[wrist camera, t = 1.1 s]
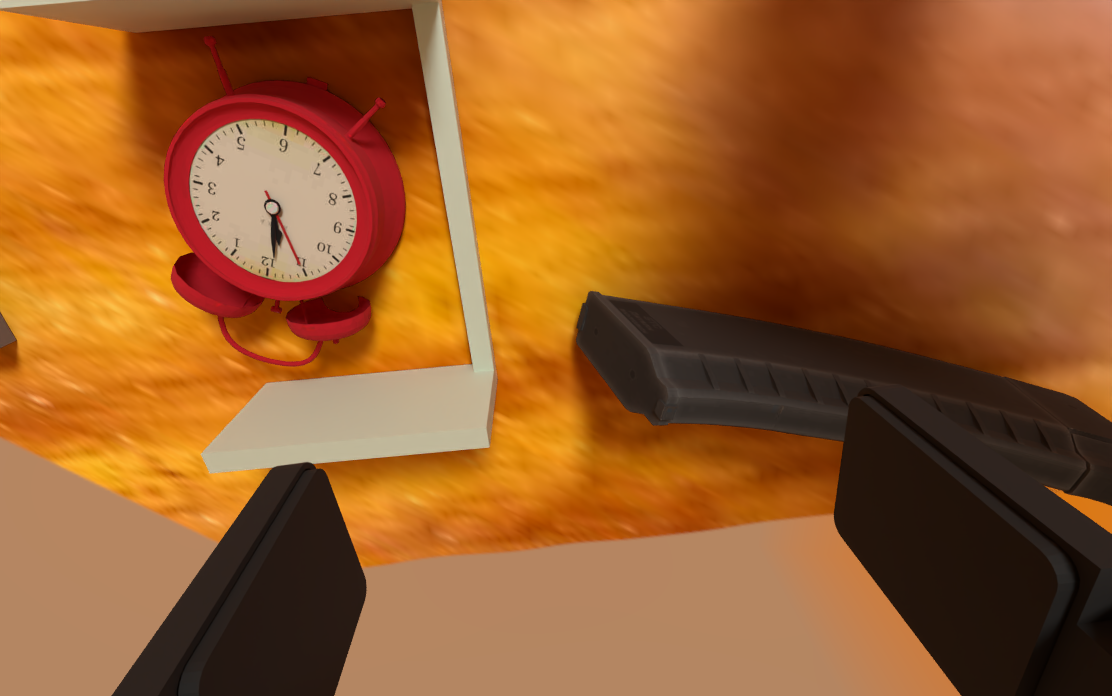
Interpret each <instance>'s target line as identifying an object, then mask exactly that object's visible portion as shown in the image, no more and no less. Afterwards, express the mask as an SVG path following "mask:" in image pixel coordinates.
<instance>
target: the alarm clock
mask: <svg viewBox="0 0 1112 696" xmlns="http://www.w3.org/2000/svg"><path fill="white" fill-rule="evenodd" d="M204 42H205V44H206V45H208V46H209V47H210V50H211V52H212V55H213V58H214V61H215V63H216V66H217V69H218V70H217V71H218V74H219V76H220V79H221V81H222V84H223V87H224V89H225V92H226V95H225V96H224V97H222V98H220V99H217V100H215V101H213V102H210V103H208V104H206V105H205V106H203V107H201V108H200V109H198V110H197V111H196V112H195V113H193V114H192V115H191V116H190V117H189V118H188V119H187V120H186V121H185V122H184V123H183V124H182V126H181V127H180V128H179V129H178V131H177V133H176V134H175V136H174V137H173V139H172V142H171V144H170V146H169V149H168V151H167V156H166V160H165V165H164V186H165V194H166V198H167V203H168V207H169V209H170V212H171V215H172V218H173V220H174V222H175V224H176V226H177V228H178V230H179V232H180V233H181V235H182V237H183V238H184V240H185V242H186V243H187V244H188V246H189V247H190V248H191V249H192V251H193V252H194V253H189V254H186V255H183V256H180V257H179V258H178V260H177V261H176V263H175V264H174V266H173V269H172V274H171V281H172V284H173V286H174V288H175V290H176V291H177V292H178V293H179V295H180V296H181V297H183V298H184V299H185V300H186V301H187V302H189V303H190V304H192V305H194V306H195V307H197V308H199V309H201V310H203V311H205V312H208V313H211V314H214V315H217V316H218V321H219V324H220V328H221V331H222V333H223V335H224V337H225V339H226V340H227V341H228V342H229V343H230V344H231V345H232V346H233V347H234V348H235V349H236V350H238V351H239V352H241V353H243V354H245V355H247V356H249V357H252V358H254V359H257V360H260V361H263V362H266V363H270V364H276V365H282V366H301V365H305V364H307V363H310V362H311V361H312V360H314V359H315V358H316V357H317V355H318V353H319V352H320V349H321V346H322V344H323V341H328V340H333V343H334V344H337V343H338V342H339V339H341V338H345V337H348V336H350V335H353V334H355V333H357V332H358V331H360V330H361V329H363V328H364V327H365V326H366V325H367V324H368V322H369V319H370V317H371V305H370V301H369V300H368V299H366V298H364V297H359V296H358V299H359V305H358V308H356V309H354V310H352V311H350V312H336V311H333V310H330V309H328V308H327V307H326V305H325V303H324V301H323V299H322V298H318V299H314V300H310V301H306V302H304V303H303V300H306V299H313V298H317V297H321V296H325V295H328V294H330V293H333V292H335V291H337V290H339V289H342V288H346V287H349V286H352V285H354V284H357V283H359V282H361V281H363V280H364V279H366V278H368V277H369V276H370V275H372V274H373V273H375V272H376V271H377V270H378V269H379V268H380V267H381V266H382V265H383V264H384V263H385V262H386V260H387V259H388V258H389V257H390V255H391V254H392V252H393V250H394V249H395V247H396V245H397V243H398V241H399V238H400V236H401V232H402V229H403V225H404V219H405V192H404V186H403V181H402V178H401V174H400V171H399V168H398V165H397V163H396V161H395V158H394V156H393V154H392V152H391V150H390V149H389V147H388V145H387V143H386V142H385V140H384V139H383V138H382V136H381V135H380V133H379V132H378V131H377V130H376V128H375V127H374V126H373V125H372V124H371V123H370V122H369V121H368V120H369V119H370V118H371V117H372V116H373V115H374V113H375V112H376V111H377V110H378V109H379V108H382V109H383V108H384V107H385V105H386V103H385V101H384V100H383V99H382V98H380V97H379V98H377V99H376V100H375V103H376V104H375V105H374V106H373V107H372V108H371V109H370V110H369V111H368V112H367V113H366V114H365V115H364V116H363V115H362V114H361V113H360V112H359V111H358V110H356V109H355V108H354V107H352V106H351V105H350V104H348V103H347V102H346V101H344V100H342V99H341V98H339V97H337V96H335V95H333V94H332V93H330V92H327V86H328V84H327V83H324V82H322V81H319V80H316V79H313V78H310V77H307V84H304V83H299V82H293V81H281V80H273V81H261V82H255V83H251V84H248V85H245V86H242V87H239V88H237V89H235V90H233V89H232V86H231V84H230V81H229V79H228V76H227V74H226V71H225V69H223V66H222V63H221V61H220V58H219V56H218V53H217V50H216V48H215V44H217V43H216V39H215V38H214V37H213V36H205V37H204ZM264 298H270V299H275V306H272V307H271V311H273V312H277V313H281V312H282V308H280V307H279V303H280V300H282V301H296V300H300V304H299V305H297V306H295V307H294V308H293V309H291V310H290V311H289V312H288V313H287V316H286V320H287V323H288V326H289V327H290V329H291V331H292V332H293V333H294V334H295V335H297V336H298V337H301V338H304V339H307V340H315V341H318V343H317V346H316V349H315V350H314V352H313V354H312V355H311V356H310V357H309V358H308V359H305V360H303V361H296V362H285V361H280V360H274V359H269V358H266V357H262V356H259V355H257V354H254V353H252V352H249V351H247V350H246V349H244V348H242V347H241V346H239V345H238V344H237V343H236V342H235V341H234V340H233V339H232V338H231V337H230V335H229V333H228V332H227V329H226V325H225V322H224V317H229V318H237V317H243V316H246V315H248V314H251V313H252V312H254V311H255V310H256V309H257V308H258V307H259V306H260V305H261V304H262V302H263V301H264Z"/></svg>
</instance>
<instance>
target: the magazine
mask: <svg viewBox="0 0 1112 696" xmlns="http://www.w3.org/2000/svg"><path fill="white" fill-rule="evenodd" d="M577 329H578V334H577V338H576V342H577V345H578V346H579V347H580V349H581V350H582V351H583V353H584V354H585V355H586V356H587V358H588V359H589V360H590V362H591V363H592V364H593V366H594V367H595V368H596V370H597V371H598V372H599V374H600V375H601V376H602V378H603V379H604V380H605V382H606V383H607V384H608V386H609V387H610V388H611V390H612V391H613V392H614V394H615V395H616V396H617V398H618V399H619V400H620V402H621V403H622V404H623V406H624V407H625V408H626V409H627V410H629V411H630V412H635V413H640V414H644V415H645V416H646V417H647V419H648V420H649V421H650V422H651V424H652V425H668V423H682V424H710V425H723V426H735V427H746V428H755V429H764V430H771V431H777V432H784V433H790V434H796V435H802V436H809V437H816V438H823V439H830V440H836V441H843V442H844V437H845V430H846V423H847V416H848V409H849V404H850V401H851V400H852V399H853V398H855V397H857V395H858V393H859V392H860V390H861V389H863V388H867V387H875V386H882V385H890V384H900V385H902V386H904V387H906V388H907V389H909V390H910V391H911V392H913V393H914V394H916V395H917V396H918V397H920V398H921V399H923V400H924V401H925V402H927V403H928V404H930V405H931V406H932V407H934V408H935V409H937V410H938V411H940V412H941V413H942V414H944V415H945V416H947V417H948V418H949V419H951V420H952V421H954V422H955V423H956V424H958V425H959V426H961V427H962V428H963V429H965V430H966V431H968V432H969V433H970V434H972V435H973V436H975V437H976V438H977V439H979V440H980V441H982V442H983V443H984V444H986V445H987V446H989V447H990V448H991V449H993V450H994V451H996V452H997V453H998V454H1000V455H1001V456H1003V457H1004V458H1006V459H1007V460H1008V461H1010V462H1011V463H1013V464H1014V465H1015V466H1017V467H1018V468H1020V469H1021V470H1022V471H1024V472H1025V473H1027V474H1028V475H1029V476H1031V477H1032V478H1034V479H1035V480H1036V481H1038V482H1039V483H1041V484H1042V485H1044V486H1048V487H1051V488H1055V489H1059V490H1062V491H1063V492H1064V493H1066V494H1070V495H1075V496H1080V497H1084V498H1088V499H1092V500H1096V501H1099V502H1103V503H1106V504H1108V505H1111V506H1112V422H1110V421H1109V420H1107V419H1106V418H1104V417H1103V416H1101V415H1100V414H1098V413H1097V412H1096V411H1094V410H1093V409H1091V408H1090V407H1088V406H1087V405H1085V404H1084V403H1082V402H1081V401H1079V400H1078V399H1076V398H1074V397H1071V396H1069V395H1066V394H1064V393H1060V392H1056V391H1053V390H1049V389H1046V388H1042V387H1039V386H1035V385H1032V384H1028V383H1025V382H1021V381H1018V380H1014V379H1011V378H1007V377H1001V376H997V375H994V374H990V373H986V372H982V371H978V370H975V369H971V368H967V367H963V366H959V365H955V364H951V363H947V362H943V361H940V360H936V359H932V358H928V357H924V356H920V355H916V354H912V353H908V352H904V351H900V350H896V349H892V348H888V347H884V346H879V345H875V344H871V343H867V342H862V341H858V340H853V339H849V338H844V337H840V336H835V335H830V334H826V333H821V332H816V331H811V330H806V329H801V328H796V327H791V326H786V325H781V324H776V323H770V322H765V321H759V320H754V319H748V318H743V317H737V316H731V315H725V314H720V313H714V312H708V311H701V310H695V309H689V308H682V307H676V306H669V305H663V304H657V303H650V302H644V301H637V300H631V299H625V298H618V297H612V296H605V295H601V294H600V293H599V292H595V291H590V292H589V293H588V297H587V300H586V303H583V305H582V308H581V312H580V316H579V320H578V323H577Z"/></svg>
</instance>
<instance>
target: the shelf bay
mask: <svg viewBox="0 0 1112 696" xmlns="http://www.w3.org/2000/svg"><path fill="white" fill-rule="evenodd" d="M400 9H412V11H413V17H414V22H415V28H416V34H417V40H418V46H419V52H420V58H421V64H422V70H423V75H424V81H425V87H426V93H427V99H428V105H429V111H430V117H431V122H432V128H433V134H434V140H435V146H436V152H437V158H438V164H439V169H440V175H441V181H442V187H443V193H444V199H445V205H446V211H447V217H448V222H449V228H450V234H451V240H452V246H453V252H454V258H455V264H456V269H457V275H458V281H459V287H460V293H461V299H462V305H463V311H464V316H465V322H466V328H467V334H468V340H469V346H470V352H471V358H472V364H468V365H457V366H447V367H436V368H425V369H414V370H403V371H392V372H381V373H370V374H359V375H348V376H338V377H327V378H316V379H305V380H294V381H283V382H272V383H266V384H265V385H264V386H263V387H262V388H261V389H260V391H259V392H258V393H257V394H256V395H255V396H254V397H253V398H252V399H251V400H250V401H249V402H248V404H247V405H246V406H245V407H244V408H243V409H242V410H241V411H240V412H239V413H238V414H237V415H236V416H235V418H234V419H233V420H232V421H231V422H230V423H229V424H228V425H227V426H226V427H225V428H224V429H223V431H222V432H221V433H220V434H219V435H218V436H217V437H216V438H215V439H214V440H213V441H212V442H211V443H210V445H209V446H208V447H207V448H206V449H205V450H204V451H203V452H202V453H201V455H202V457H203V460H204V462H205V464H206V466H207V468H208V470H209V472H210V473H219V472H230V471H240V470H251V469H262V468H273V467H276V466H281V465H288V464H296V463H303V462H310V463H312V464H316V463H327V462H338V461H348V460H359V459H370V458H381V457H391V456H402V455H413V454H424V453H435V452H445V451H456V450H467V449H478V448H489V447H490V440H491V431H492V423H493V414H494V405H495V397H496V388H497V380H498V379H497V372H496V365H495V359H494V352H493V345H492V338H491V332H490V325H489V318H488V311H487V305H486V298H485V291H484V284H483V278H482V271H481V264H480V257H479V251H478V244H477V237H476V230H475V224H474V217H473V210H472V204H471V197H470V190H469V183H468V177H467V170H466V163H465V156H464V150H463V143H462V136H461V129H460V123H459V116H458V109H457V102H456V96H455V89H454V82H453V75H452V69H451V62H450V55H449V48H448V42H447V35H446V28H445V22H444V15H443V8H442V1H441V0H0V10H1V11H7V12H13V13H19V14H25V15H31V16H37V17H43V18H49V19H55V20H61V21H67V22H73V23H79V24H85V25H91V26H97V27H103V28H109V29H116V30H122V31H128V32H134V33H139V32H151V31H162V30H173V29H185V28H196V27H207V26H219V25H230V24H242V23H253V22H264V21H276V20H287V19H298V18H310V17H321V16H332V15H344V14H355V13H366V12H378V11H389V10H400Z"/></svg>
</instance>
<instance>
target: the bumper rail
mask: <svg viewBox="0 0 1112 696" xmlns="http://www.w3.org/2000/svg"><path fill="white" fill-rule="evenodd" d="M14 341H16V339H15V337H14V335H13V334H12V332H11V330H10V329H9V327H8V325H7V324H6V322H5V320H4V319H3V317H2V315H1V313H0V348H1V347H3V346H5V345H8V344H10V343H12V342H14Z"/></svg>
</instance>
